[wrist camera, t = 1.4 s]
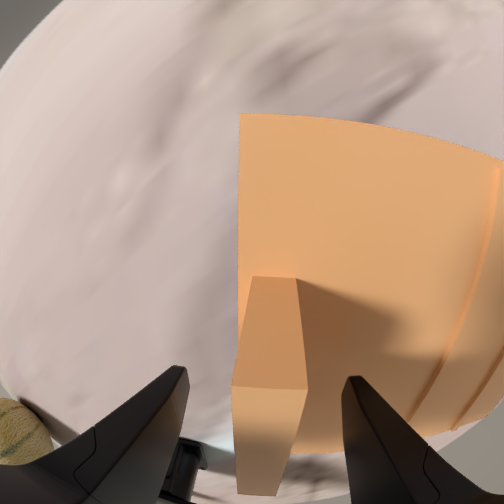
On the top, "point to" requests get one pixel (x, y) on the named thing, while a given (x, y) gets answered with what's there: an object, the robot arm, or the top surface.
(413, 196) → the lid
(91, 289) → the top surface
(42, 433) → the cantaloupe
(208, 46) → the top surface
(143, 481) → the robot arm
